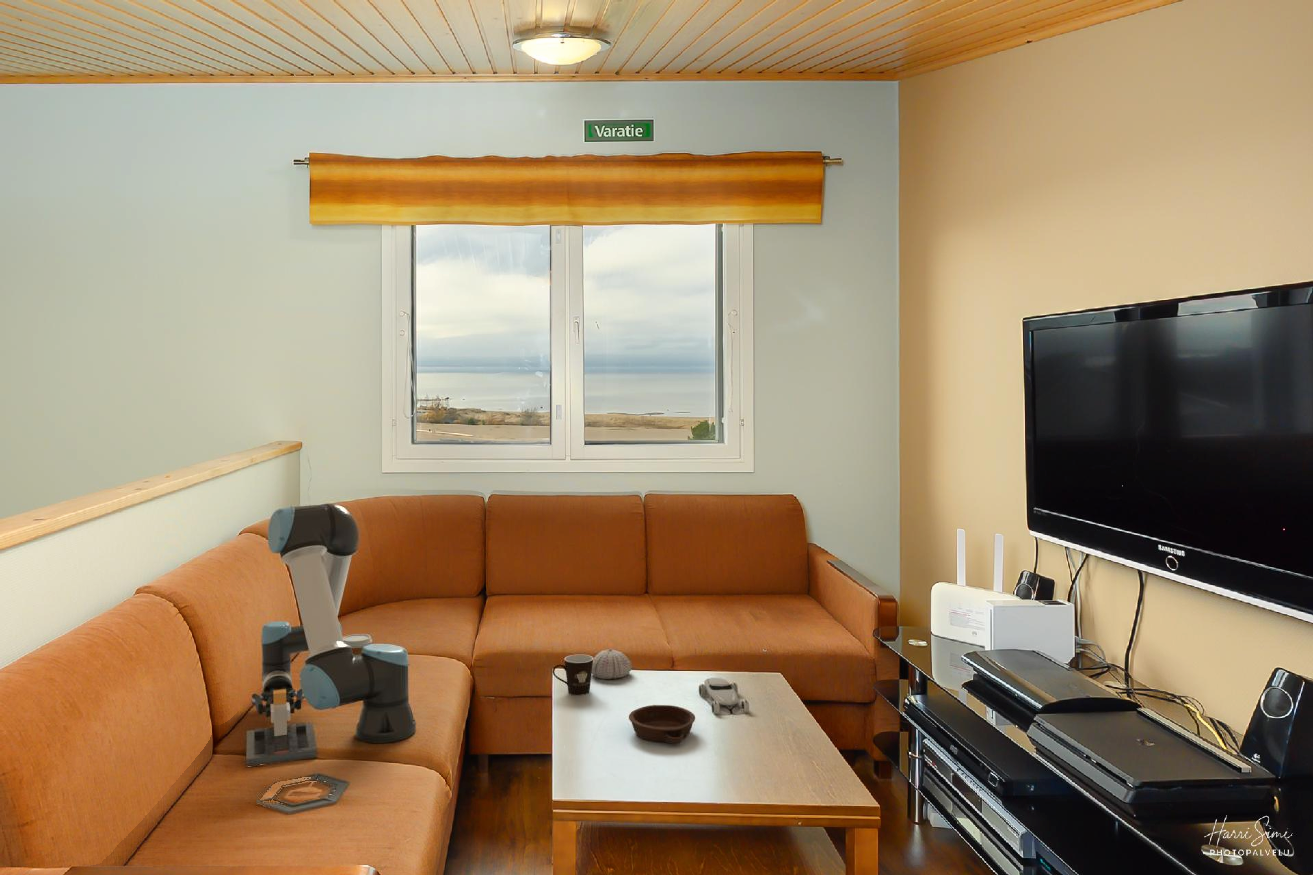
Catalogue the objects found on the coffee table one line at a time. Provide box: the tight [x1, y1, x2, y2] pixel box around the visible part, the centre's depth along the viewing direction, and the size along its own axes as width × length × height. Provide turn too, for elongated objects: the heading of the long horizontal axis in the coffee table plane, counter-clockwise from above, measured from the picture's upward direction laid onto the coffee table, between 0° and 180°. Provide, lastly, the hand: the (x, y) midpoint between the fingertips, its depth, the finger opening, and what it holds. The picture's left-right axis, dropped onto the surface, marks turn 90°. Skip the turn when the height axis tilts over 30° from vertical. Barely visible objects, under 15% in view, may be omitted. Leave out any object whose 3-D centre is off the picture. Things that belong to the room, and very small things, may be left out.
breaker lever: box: [273, 689, 288, 736], centre depth 243 cm, size 3×3×11 cm
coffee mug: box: [552, 654, 594, 696], centre depth 284 cm, size 12×9×10 cm
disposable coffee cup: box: [342, 633, 373, 655], centre depth 299 cm, size 10×10×12 cm
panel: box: [245, 722, 318, 767], centre depth 240 cm, size 20×16×3 cm
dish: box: [628, 704, 696, 745], centre depth 251 cm, size 18×22×5 cm
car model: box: [698, 677, 750, 716], centre depth 277 cm, size 11×24×5 cm, turn 9°
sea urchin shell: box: [591, 649, 633, 680], centre depth 300 cm, size 13×14×8 cm
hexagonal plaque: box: [255, 772, 350, 815], centre depth 214 cm, size 17×20×1 cm
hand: (280, 716), depth 238 cm, fingers closed on breaker lever, 3 cm apart
